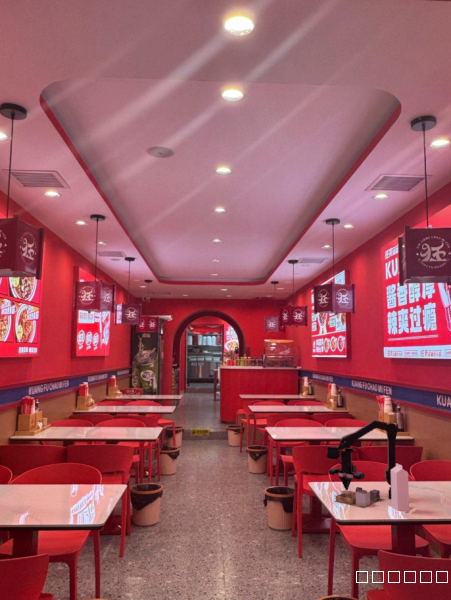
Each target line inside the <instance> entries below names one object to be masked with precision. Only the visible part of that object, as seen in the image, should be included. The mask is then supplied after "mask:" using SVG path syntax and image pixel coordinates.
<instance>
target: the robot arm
mask: <svg viewBox="0 0 451 600" xmlns="http://www.w3.org/2000/svg"><path fill="white" fill-rule="evenodd" d="M376 429H378V430H382V431H385V434H386V439H387V468H386V469H385V468H384V469H383V470H384V479H385V480H386V482H387V484H388V485H389V489H388V491H387V492H388V500H391V469H393V468H394V467H396V461H397V460H396V440H397V434H398V430H399V429H398V426H397V424H395V423H394V422H392V421H389V422H385V421H379V420H376V419H372V420H371V421H370V422H369V423H367V424H366V425H364V426H362V427H360V428H359V429H358V430H356V431H354V432H351V433H348V434H346V435H343V436H342V437H340V442H339V444H337V446H331V445H328V446H327V451H326V459H327V460H335V461H336V460H338V459H340V461H339V464H340V468H337V467H331V468H329V469H328V474H329V475H332V476H334V475H336V474H337V475H338V477H337V478H339V479H340V481H341V483H342V484H343V487H344V490H345V491H348V490H349V488H350V485H351V482H352V480H354V479H355V480H361V481H362V480H363V479H365V478H366V474H365V473H364V472H362V471H357V470H358V466H357V465H354V462H353V458H352V457H353V454H352V453H356V450H355V449H354V448H353V447H352V446H353V445H354V443H356V441H358V440H359V439H360V438H361V439H362V437H364V436H365V435H367V434H368V433H370V432H372V431H374V430H376Z"/></svg>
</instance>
